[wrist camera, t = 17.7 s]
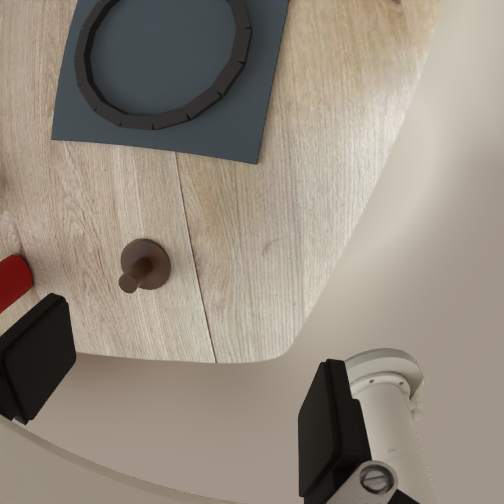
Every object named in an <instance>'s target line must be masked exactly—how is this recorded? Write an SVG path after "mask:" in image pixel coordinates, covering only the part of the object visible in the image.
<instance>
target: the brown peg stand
mask: <svg viewBox="0 0 504 504" xmlns="http://www.w3.org/2000/svg"><path fill="white" fill-rule="evenodd" d="M121 266H122V270H123V272H124V274H123V275H122V276H121V277H120V278H119V286H120V288H121V289H122V290H123V291H124V292H126V293H133V292H135V291H136V289H137V288H138V287H139V288H142V289H146V290H152V289H157V288H159V287H161V286H162V285H163V284H164V283H165V282H166V281H167V279H168V277H169V275H170V271H171V265H170V260H169V257H168V255H167V253H166V252H165V250H164V249H163V248H162V247H161V246H160V245H158V244H157V243H155V242H154V241H151V240H148V239H137V240H134V241H132V242H131V243H129V244H128V245H127V246H126V247H125V248H124V250H123V252H122V255H121Z"/></svg>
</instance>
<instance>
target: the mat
mask: <svg viewBox="0 0 504 504" xmlns="http://www.w3.org/2000/svg"><path fill="white" fill-rule="evenodd" d="M98 1H99V2H101V1H100V0H78V2H77V5H76V8H75V12H74V15H73V19H72V22H71V26H70V30H69V34H68V38H67V42H66V46H65V51H64V55H63V60H62V65H61V70H60V76H59V81H58V88H57V94H56V101H55V108H54V116H53V125H52V136H51V140H64V141H80V142H93V143H105V144H116V145H126V146H135V147H144V148H153V149H161V150H168V151H176V152H183V153H190V154H197V155H203V156H210V157H216V158H222V159H228V160H234V161H239V162H245V163H250V164H257V162H258V156H259V151H260V146H261V140H262V135H263V130H264V125H265V120H266V114H267V109H268V104H269V99H270V94H271V89H272V84H273V79H274V73H275V68H276V63H277V58H278V53H279V48H280V43H281V38H282V33H283V28H284V23H285V19H286V14H287V9H288V4H289V0H244V1H245V5H246V9H247V12H248V16H249V20H250V24H251V27H252V38H251V43H250V47H249V52H248V57H247V62H246V65H244V67H245V68H244V69H243V71H242V72H241V73H240V75H239V76H238V78H237V79H236V81H235V82H234V84H233V85H232V87H231V88H230V90H229V91H228V93H227V94H226V96H224V95H222V94H220V95H221V96H222V97H223V99H221V100H220V101H218V102H217V103H216V104H214V105H213V106H211V107H210V108H209V109H207V110H206V111H205V112H203V113H202V114H201V115H199V116H198V117H197V118H195V119H191V121H188V122H184V123H181V124H177V125H174V126H171V127H167V128H164V129H161V130H143V129H132V128H121V127H118V126H116V125H115V124H113V123H111V122H109V121H108V120H106V119H104V118H103V117H101V116H99V115H97V114H96V113H95V111H93V110H92V109H91V107H90V106H89V104H88V103H87V101H86V100H85V98H84V97H83V95H82V94H81V92H80V91H79V88H80V87H78V86H77V80H76V74H75V67H74V60H75V59H76V58H74V54H75V50H76V45H77V41H78V37H79V33H80V30H81V29H84V28H82V25H83V23H84V22H85V20H86V19H87V17H88V15H89V14H90V12H91V11H92V9H93V8H94V6H95V4H96V3H97V2H98ZM235 32H236V26H235V22H234V18H233V14H232V10H231V7H230V5H229V4H228V3H227V2H226V0H120V1H119V2H118V3H117V4H115V5H114V6H113V7H112V8H111V9H110V10H109V12H108V13H107V15H106V16H105V18H104V20H103V21H102V23H101V24H100V26H99V28H98V29H97V31H96V33H95V37H94V41H93V46H92V50H91V55H90V61H91V68H92V74H93V80H94V83H95V85H96V86H97V88H98V89H99V91H100V92H101V94H102V95H103V96H104V98H105V99H106V101H107V102H108V103H110V104H112V105H114V106H115V107H117V108H119V109H121V110H123V111H124V112H126V113H128V114H130V115H143V116H156V115H159V114H162V113H165V112H168V111H171V110H175V109H178V108H181V107H184V106H185V105H186V104H188V103H189V102H190V101H192V100H193V99H194V98H196V97H197V96H198V95H200V94H201V93H203V92H204V91H205V90H207V89H208V88H209V87H211V86H212V84H213V83H214V81H215V80H216V78H217V77H218V75H219V74H220V72H221V71H222V69H223V68H224V66H225V65H226V64H227V62H228V61H229V59H230V55H231V50H232V46H233V41H234V36H235Z"/></svg>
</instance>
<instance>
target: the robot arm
mask: <svg viewBox="0 0 504 504" xmlns="http://www.w3.org/2000/svg"><path fill="white" fill-rule="evenodd" d="M75 361H76V351H75V346H74V340H73V334H72V327H71V320H70V312H69V305H68V303H67V302H66V299H65V298H64V297H63V296H60V295H57V294H54V293H50V294H48V295H47V296H46V297H45V298H43V299H42V300H41V301H40V302H39V303H38V304H36V305H35V306H34V307H33V308H32V309H31V310H29V311H28V312H27V313H26V314H25V315H24V316H23V317H21V318H20V319H19V320H18V321H17V322H16V323H15V324H14V325H13V326H11V327H10V328H9V329H8V330H7V331H6V332H5V333H4V334H3V335H2V336H1V337H0V504H243V503H236V502H231V501H226V500H220V499H214V498H209V497H205V496H200V495H196V494H191V493H187V492H183V491H179V490H175V489H171V488H167V487H164V486H160V485H157V484H154V483H150V482H147V481H144V480H140V479H138V478H134V477H131V476H129V475H126V474H122V473H120V472H117V471H114V470H112V469H109V468H106V467H104V466H101V465H99V464H96V463H94V462H91V461H89V460H86V459H84V458H82V457H80V456H77V455H75V454H73V453H71V452H69V451H67V450H65V449H62V448H60V447H58V446H56V445H54V444H52V443H50V442H48V441H46V440H44V439H42V438H40V437H38V436H37V435H35V434H33V433H31V432H29V431H28V430H26V429H24V428H22V427H21V426H19V425H17V424H15V423H13V422H12V420H13V418H15V420H17V421H19V422H20V423H22V424H24V425H26V424H27V423H28V421H29V420H33V419H34V418H35V416H36V415H37V414H38V412H39V411H40V409H41V408H42V407H43V405H44V404H45V402H46V401H47V400H48V398H49V397H50V395H51V394H52V393H53V392H54V390H55V389H56V387H57V386H58V385H59V383H60V382H61V381H62V379H63V378H64V377H65V375H66V374H67V373H68V371H69V370H70V369H71V368H72V366H73V365H74V363H75ZM409 397H410V387H409V384H408V382H407V380H406V379H405V378H404V377H403V376H401V375H399V374H397V373H393V372H378V373H373V374H370V375H367V376H364V377H362V378H360V379H358V380H356V381H355V382H353V383H352V384H350V385H349V380H348V376H347V371H346V367H345V363H344V361H342V360H334V359H327V360H326V362H321V363H320V365H319V367H318V370H317V372H316V375H315V377H314V380H313V382H312V384H311V387H310V389H309V391H308V394H307V396H306V398H305V400H304V402H303V405H302V407H301V409H300V412H299V416H298V448H299V496H300V497H304V504H441V502H440V500H439V498H438V496H437V493H436V491H435V488H434V486H433V483H432V480H431V477H430V474H429V471H428V468H427V464H426V461H425V458H424V455H423V452H422V449H421V446H420V443H419V440H418V436H417V433H416V431H415V428H414V425H413V422H412V421H419V420H420V419H421V417H422V412H421V411H420V410H421V409H422V402H411V401H410V399H409ZM411 409H414V410H411Z"/></svg>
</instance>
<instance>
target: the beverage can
mask: <svg viewBox="0 0 504 504" xmlns="http://www.w3.org/2000/svg"><path fill="white" fill-rule="evenodd" d="M31 286H32V275H31V272H30V269H29V267H28V265H27V264H26V262H25V261H24V260H23V259H22V258H21V257H19V256H17V255H11V256H9V257H7V258H6V259H4V260H2V261H1V262H0V313H2V312H3V311H4V310H5V309H7V308H8V307H9V306H10V305H11V304H13V303H14V302H15V301H16V300H18V299H19V298H20V297H21V296H22V295H24V294H25V293H26V292H27V291H29V290H30V288H31Z"/></svg>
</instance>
